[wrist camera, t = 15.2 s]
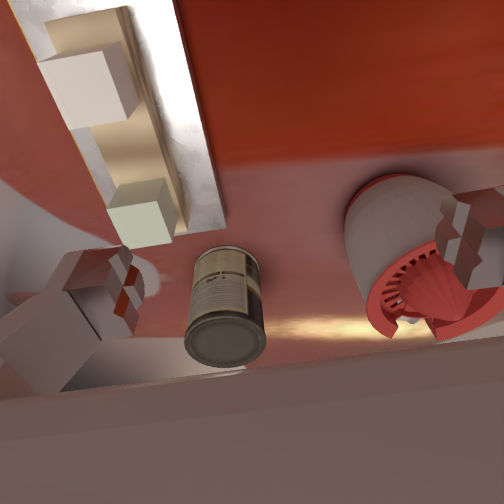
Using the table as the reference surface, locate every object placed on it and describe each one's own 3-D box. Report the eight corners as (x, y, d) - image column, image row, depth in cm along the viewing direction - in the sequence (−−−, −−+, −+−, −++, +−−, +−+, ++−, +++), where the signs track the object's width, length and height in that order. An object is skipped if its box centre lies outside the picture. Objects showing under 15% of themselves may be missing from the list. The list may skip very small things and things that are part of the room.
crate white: (62, 51, 30) (36, 62, 26) (119, 40, 29) (102, 50, 25) (88, 111, 33) (68, 130, 29) (140, 102, 32) (127, 119, 28)
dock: (16, -15, 32) (-1, -14, 30) (165, -46, 31) (160, -47, 29) (128, 231, 49) (123, 243, 47) (226, 215, 49) (226, 227, 46)
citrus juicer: (316, 259, 54) (350, 373, 39) (348, 151, 44) (414, 249, 28) (411, 265, 56) (481, 377, 40) (464, 163, 45) (588, 262, 30)
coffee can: (272, 263, 54) (282, 336, 43) (235, 302, 59) (236, 376, 48) (216, 233, 50) (212, 305, 39) (181, 277, 55) (169, 352, 44)
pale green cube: (119, 185, 37) (106, 209, 34) (164, 177, 37) (156, 200, 33) (136, 223, 41) (125, 249, 37) (178, 216, 40) (172, 242, 36)
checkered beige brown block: (62, 17, 31) (43, 22, 28) (126, 5, 31) (114, 8, 28) (145, 220, 45) (138, 238, 42) (190, 213, 45) (187, 231, 41)
